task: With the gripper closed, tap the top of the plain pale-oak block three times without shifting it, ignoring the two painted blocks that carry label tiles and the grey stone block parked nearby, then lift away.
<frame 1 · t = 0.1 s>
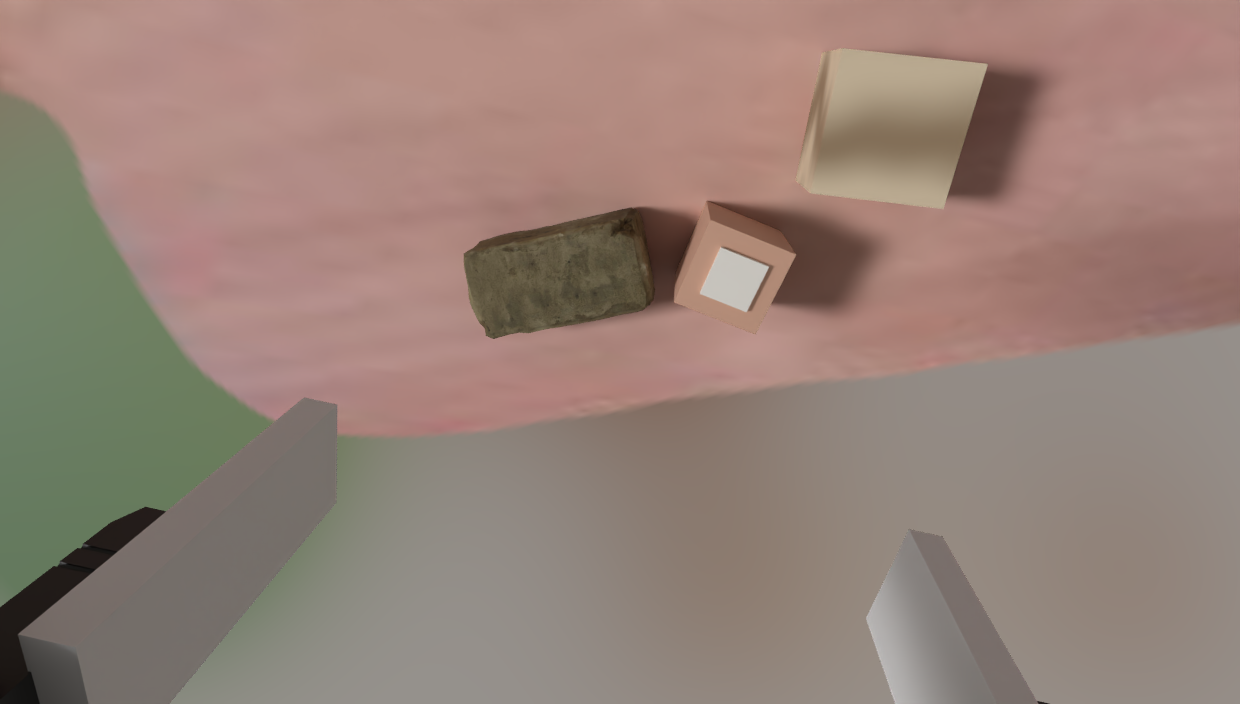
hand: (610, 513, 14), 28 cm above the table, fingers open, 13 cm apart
oak block: (868, 125, 36), on the table
stone block: (566, 262, 42), on the table
terracotta block: (726, 252, 40), on the table
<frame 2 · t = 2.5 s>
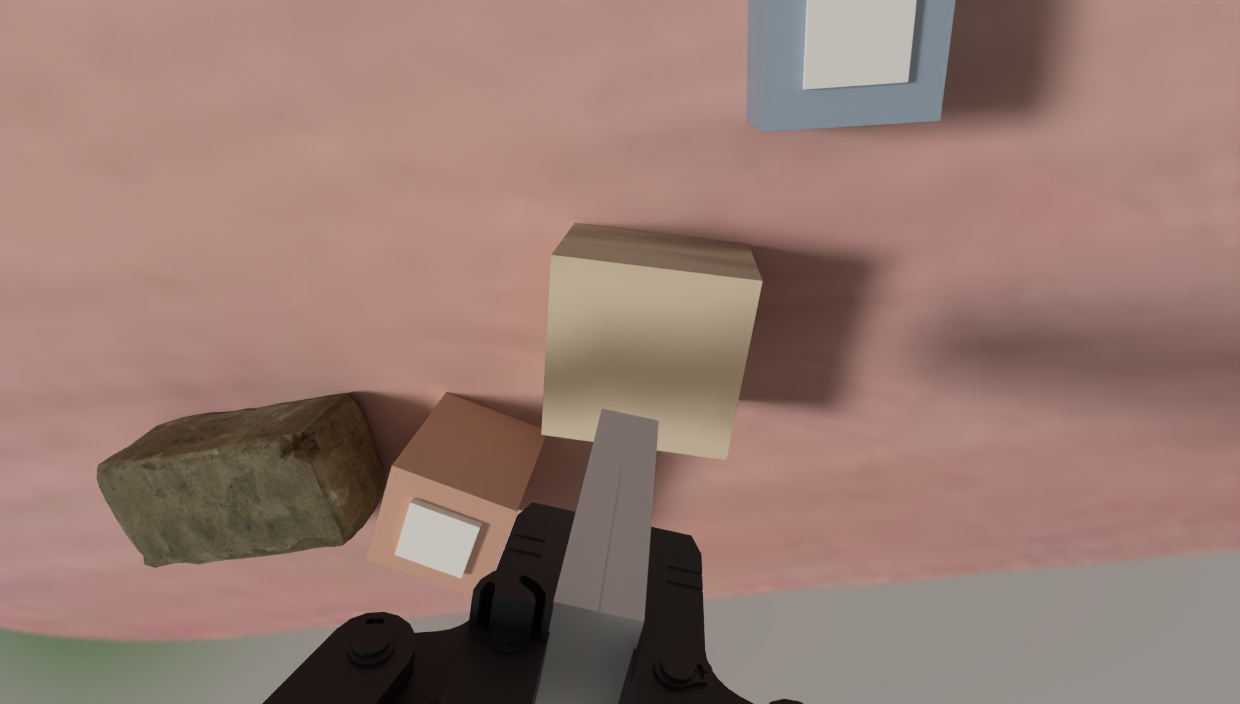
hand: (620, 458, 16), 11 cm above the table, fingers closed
slate block: (820, 39, 22), on the table
oak block: (650, 313, 27), on the table
stone block: (282, 448, 32), on the table
terracotta block: (483, 452, 30), on the table
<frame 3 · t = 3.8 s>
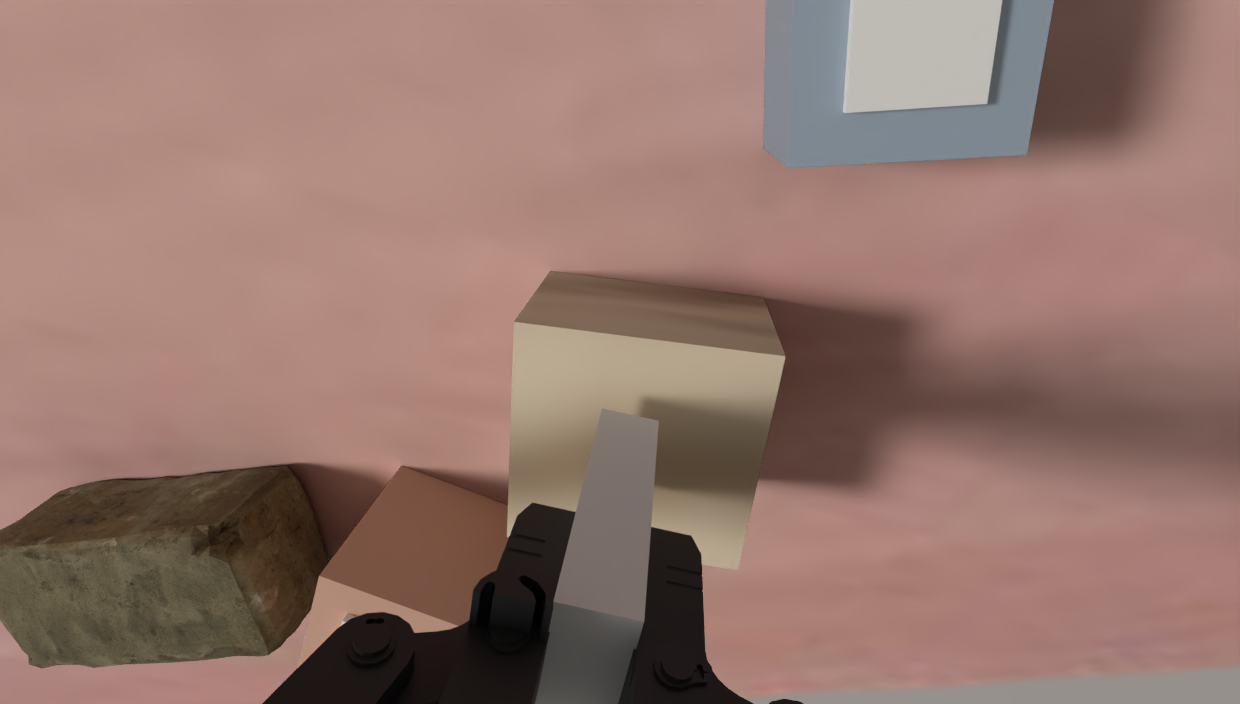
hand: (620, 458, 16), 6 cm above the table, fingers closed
slate block: (856, 48, 17), on the table
oak block: (644, 377, 22), on the table
stone block: (210, 521, 27), on the table
terracotta block: (446, 534, 25), on the table
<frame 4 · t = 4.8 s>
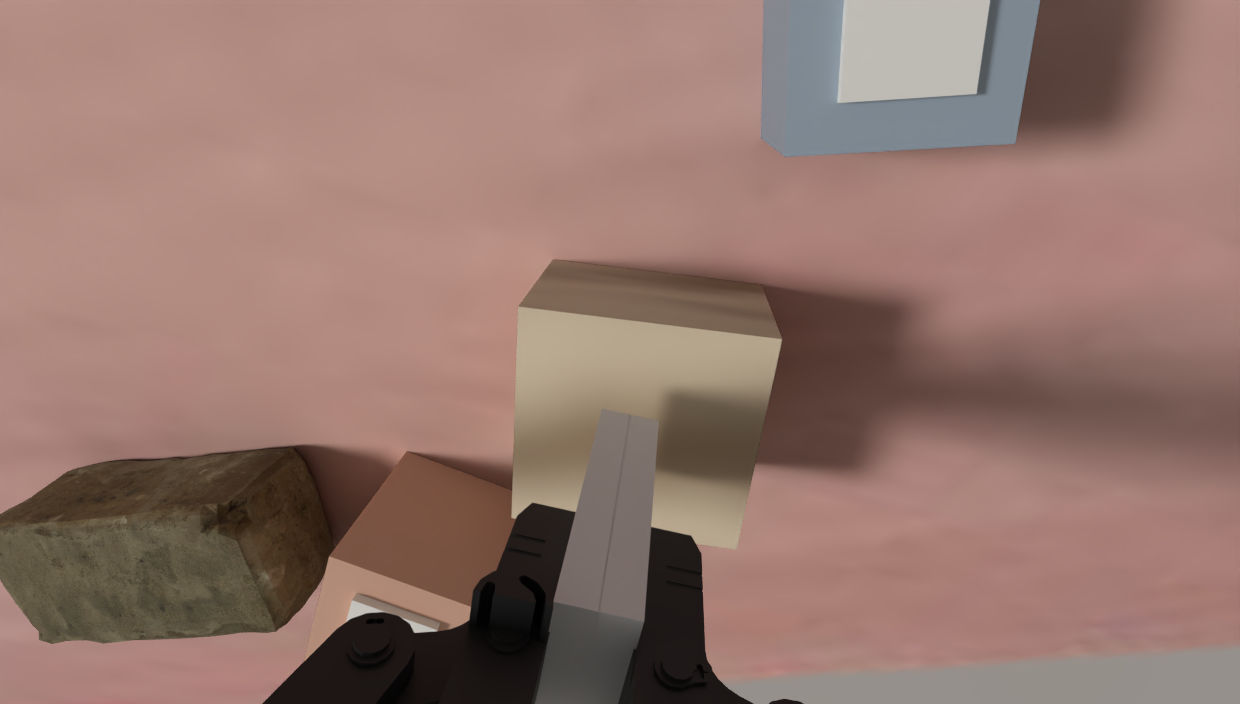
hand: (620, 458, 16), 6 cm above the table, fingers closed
slate block: (852, 39, 18), on the table
oak block: (644, 364, 22), on the table
stone block: (216, 501, 27), on the table
terracotta block: (451, 519, 26), on the table
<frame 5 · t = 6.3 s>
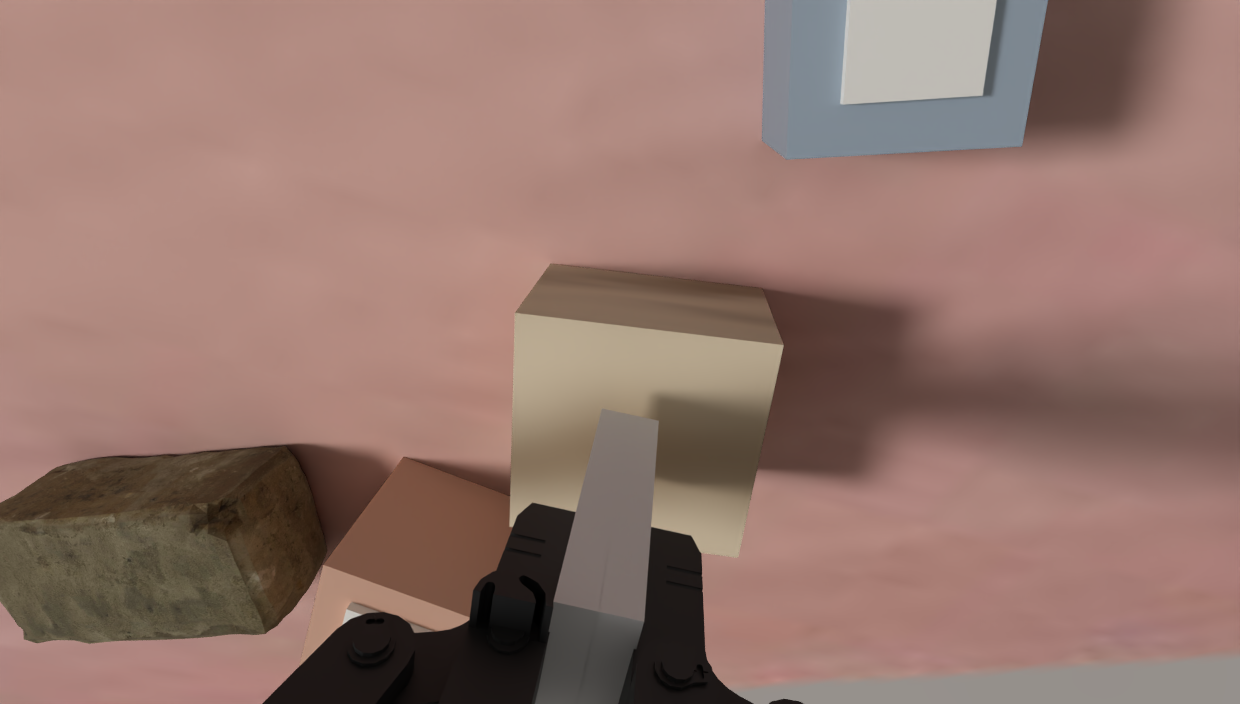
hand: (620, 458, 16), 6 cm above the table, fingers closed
slate block: (854, 40, 17), on the table
oak block: (644, 369, 22), on the table
stone block: (207, 500, 27), on the table
terracotta block: (448, 525, 26), on the table
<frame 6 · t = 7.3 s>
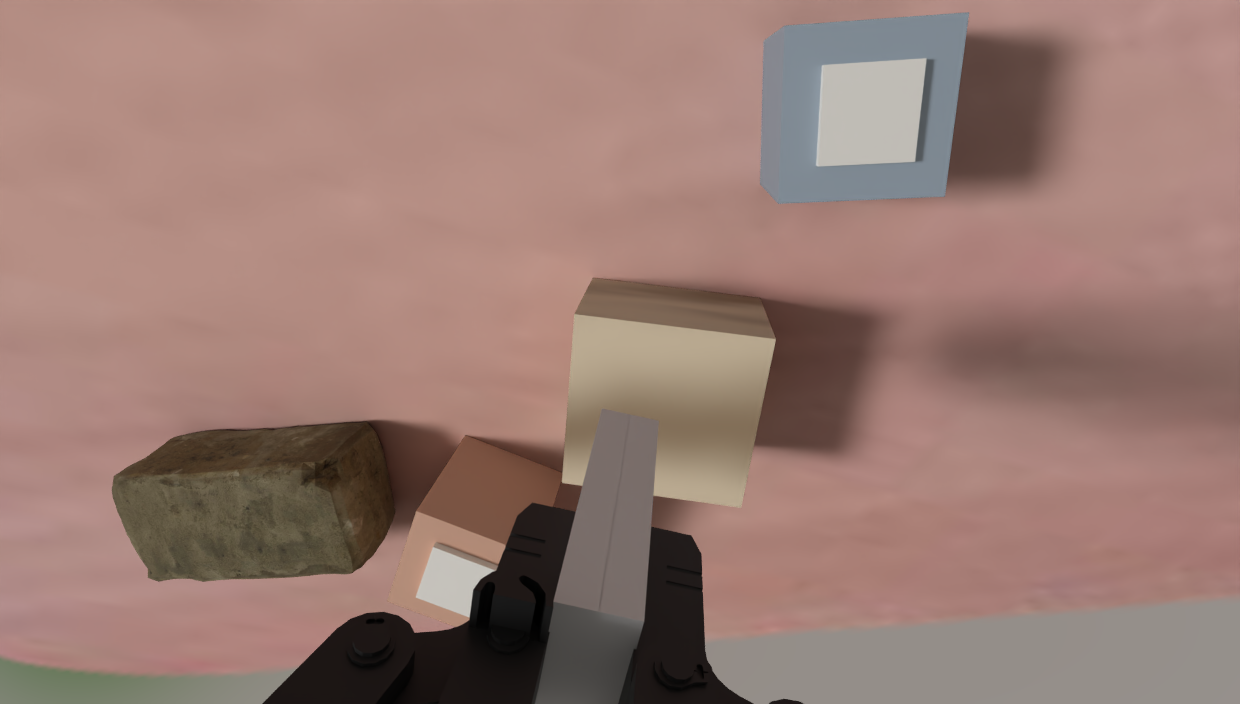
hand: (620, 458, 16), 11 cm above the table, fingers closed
slate block: (830, 111, 23), on the table
oak block: (665, 362, 28), on the table
stone block: (293, 469, 32), on the table
terracotta block: (499, 493, 31), on the table
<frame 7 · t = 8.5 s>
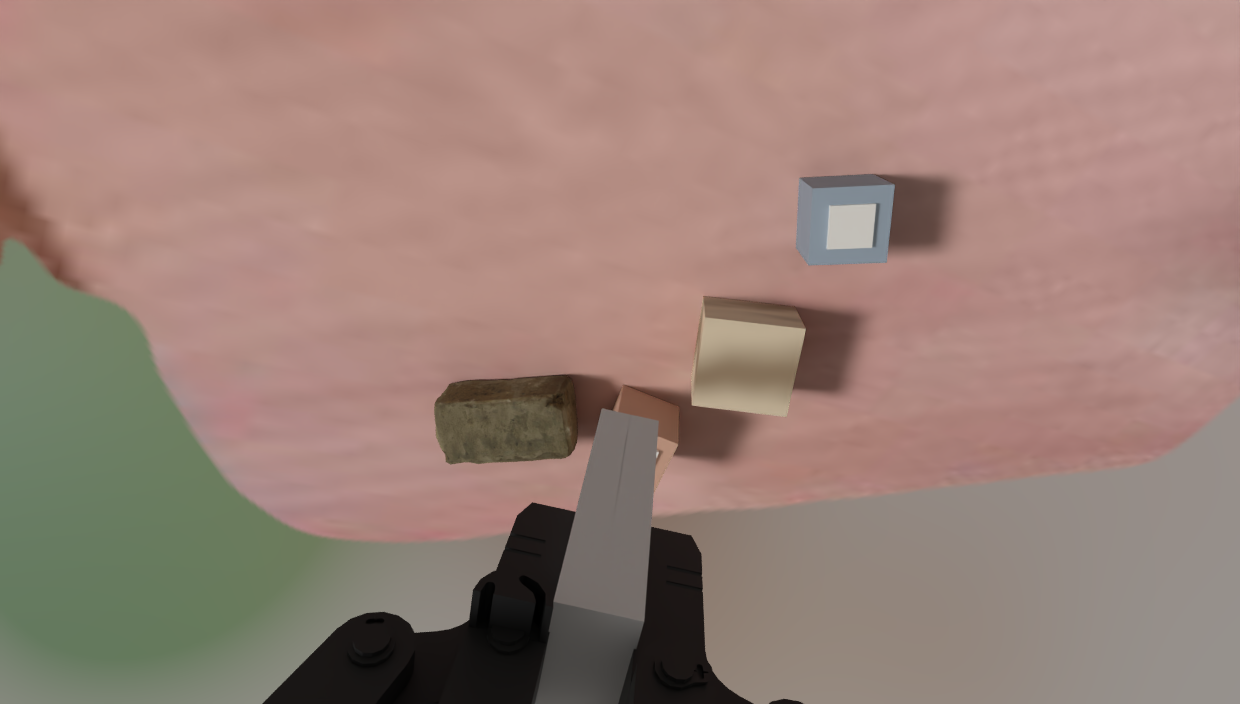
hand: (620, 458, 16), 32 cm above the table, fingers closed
slate block: (833, 211, 45), on the table
oak block: (740, 342, 50), on the table
stone block: (514, 403, 54), on the table
terracotta block: (640, 419, 53), on the table
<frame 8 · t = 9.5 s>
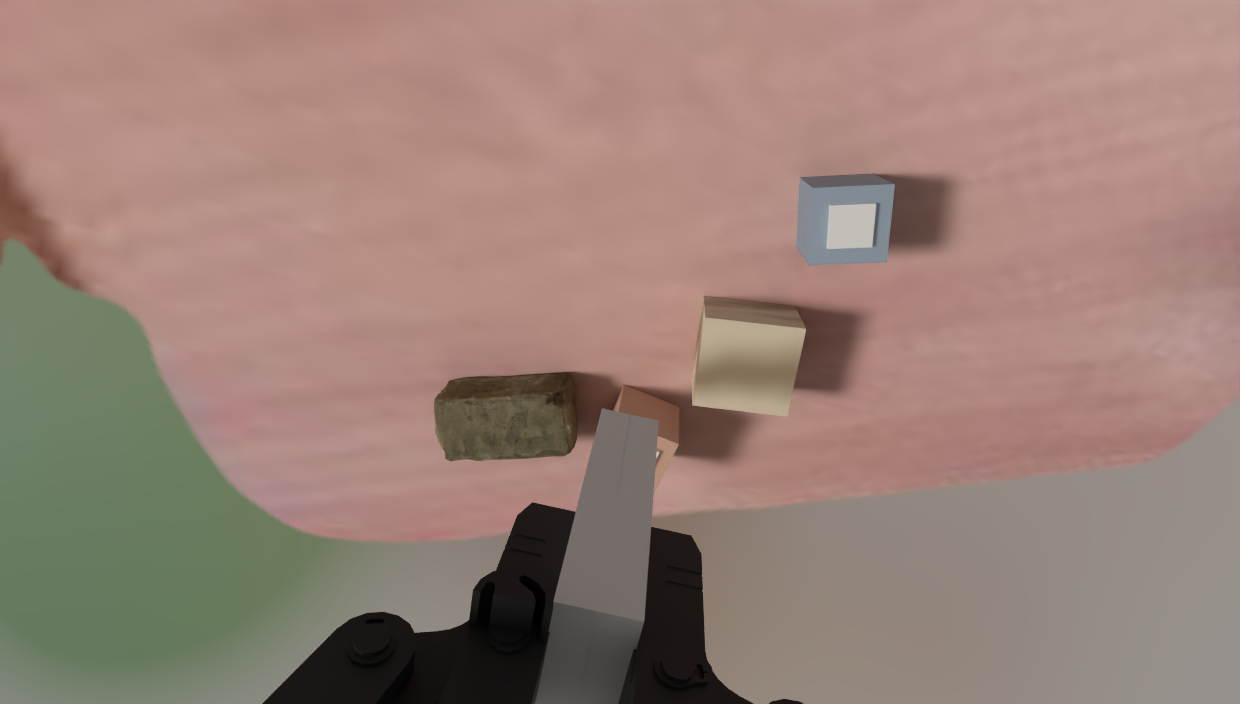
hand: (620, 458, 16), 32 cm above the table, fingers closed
slate block: (833, 211, 45), on the table
oak block: (741, 342, 50), on the table
stone block: (514, 401, 54), on the table
terracotta block: (640, 419, 53), on the table
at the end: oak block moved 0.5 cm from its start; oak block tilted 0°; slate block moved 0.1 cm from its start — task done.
